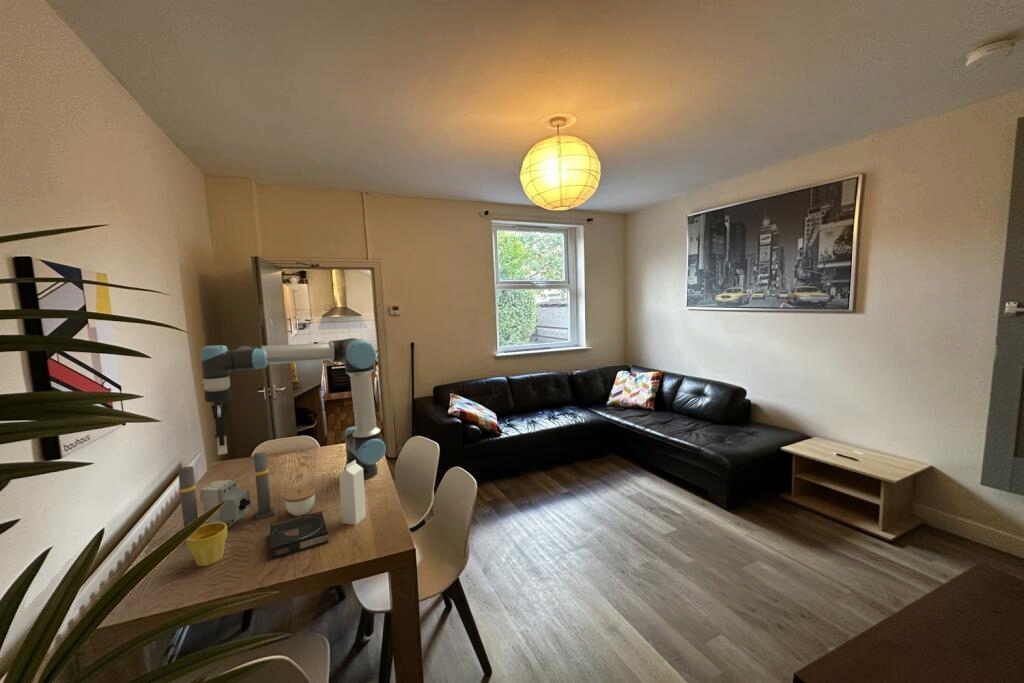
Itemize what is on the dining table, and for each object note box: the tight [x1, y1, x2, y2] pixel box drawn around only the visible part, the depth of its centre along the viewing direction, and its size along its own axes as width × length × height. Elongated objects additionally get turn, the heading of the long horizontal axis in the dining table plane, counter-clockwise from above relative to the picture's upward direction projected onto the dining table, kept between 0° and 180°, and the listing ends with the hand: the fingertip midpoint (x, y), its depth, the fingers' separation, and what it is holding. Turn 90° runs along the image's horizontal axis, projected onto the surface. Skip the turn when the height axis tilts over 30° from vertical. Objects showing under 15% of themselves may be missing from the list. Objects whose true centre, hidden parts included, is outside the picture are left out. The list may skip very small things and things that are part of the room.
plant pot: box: [185, 522, 229, 567], centre depth 127 cm, size 10×10×10 cm
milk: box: [338, 460, 367, 526], centre depth 148 cm, size 6×6×22 cm
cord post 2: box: [253, 451, 276, 521], centre depth 153 cm, size 6×6×24 cm
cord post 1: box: [177, 466, 199, 528], centre depth 140 cm, size 6×6×24 cm
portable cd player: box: [269, 511, 329, 560], centre depth 138 cm, size 16×17×4 cm
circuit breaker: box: [199, 480, 252, 529], centre depth 147 cm, size 8×14×15 cm, turn 89°
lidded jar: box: [283, 486, 316, 517], centre depth 155 cm, size 11×11×9 cm
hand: (222, 453), depth 145 cm, fingers closed
